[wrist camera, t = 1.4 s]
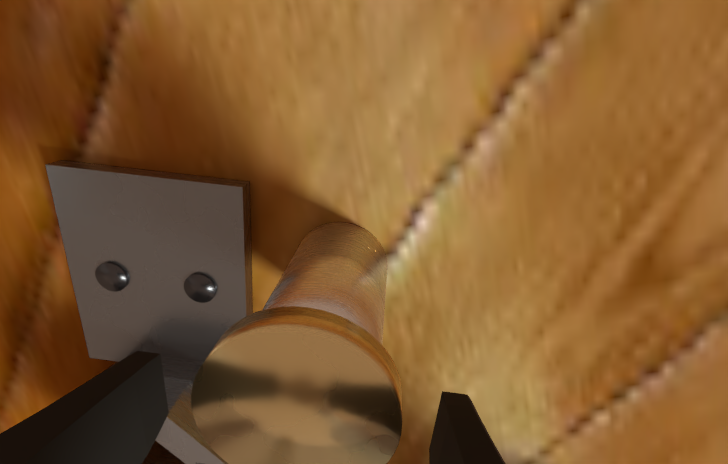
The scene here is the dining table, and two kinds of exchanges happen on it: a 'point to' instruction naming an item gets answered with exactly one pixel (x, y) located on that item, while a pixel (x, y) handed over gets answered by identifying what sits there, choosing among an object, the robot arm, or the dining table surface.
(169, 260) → the bracket
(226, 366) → the hinge pin
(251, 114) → the dining table surface
